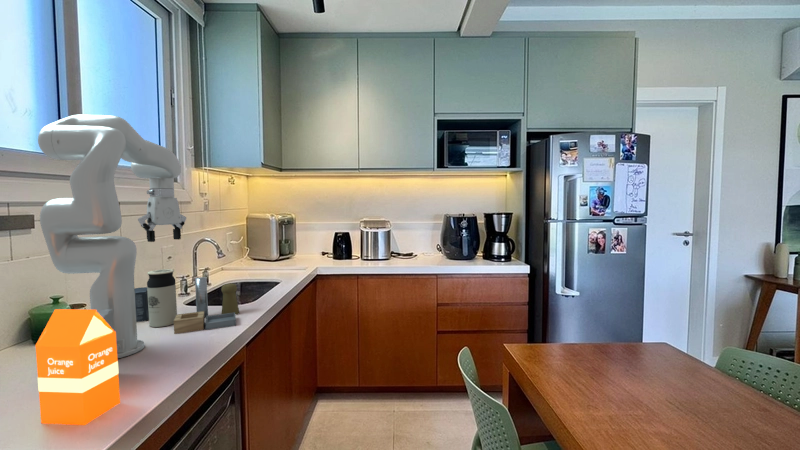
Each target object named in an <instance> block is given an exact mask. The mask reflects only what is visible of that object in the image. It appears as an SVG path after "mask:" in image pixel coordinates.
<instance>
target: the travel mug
mask: <svg viewBox="0 0 800 450" xmlns="http://www.w3.org/2000/svg"><path fill="white" fill-rule="evenodd" d="M174 272H175V270H174V269H172V268H170V269H168V268H167V269H156V270H150V271H148V272H147V276H148V280H147V282H146V285H147V286H146V287H147V292H148V310H149V319H148V324H149V327H152V328H163V327H169V326H172V325H174V319H175V317H176V315H177V314H178V310H177V309H178V304H177V288H176V285H177V284H176V278H175V277H174V276H173V275H174Z"/></svg>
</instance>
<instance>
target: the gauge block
mask: <svg viewBox="0 0 800 450" xmlns="http://www.w3.org/2000/svg"><path fill="white" fill-rule="evenodd" d="M205 320H206V318H204V311H201V312H197V311H194V312H185V313H177V315H176V317H175V319H174V324H173V333H174V335H176V334H182V333H183V334H184V333H189V332H190V333H191V332H195V331H196V332H197V331H203V330H205Z"/></svg>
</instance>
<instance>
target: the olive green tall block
mask: <svg viewBox="0 0 800 450" xmlns="http://www.w3.org/2000/svg"><path fill="white" fill-rule="evenodd" d="M220 291H221V293H222V303H221V304H222V305H221V313H220V314H228V313H235V314H237V315H238V313H239V314H240V310H239V304H238V299H237V298H238V297H237V294H236V293H237V291H238V287H237V284H235V283H225V284H223V285H222V286H221V290H220Z"/></svg>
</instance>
